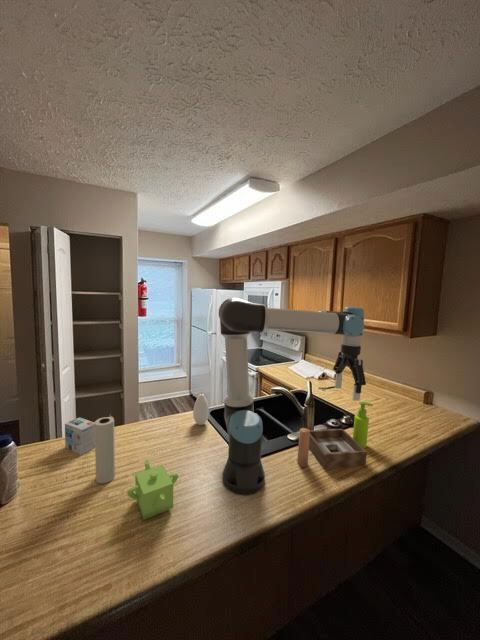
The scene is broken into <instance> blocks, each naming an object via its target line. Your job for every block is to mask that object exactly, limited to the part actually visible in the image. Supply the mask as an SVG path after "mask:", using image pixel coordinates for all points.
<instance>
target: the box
mask: <svg viewBox="0 0 480 640" xmlns="http://www.w3.org/2000/svg"><path fill="white" fill-rule="evenodd" d="M309 430H310V429H309ZM335 450H336V452H335ZM309 451H310V452H311V454H312V455H313V457H314V458H315V460H316V461H317V462H318V463H319V465H320V466H321V468H322V469H323V470H329V469H330V470H333V469H343V468H357V467H366V466H367V456H368V454H367V453H368V451H367V450H366V449H365V448H363V447H362V446H360V445H359V444H358V443H357V442H356V441H355V440H354V439H353V436H351V435H350V434H349V433H348V432H347V431H346V430H344V429H343V428H332V429H331V428H330V429H312V430H310V440H309ZM331 451H334V452H331Z"/></svg>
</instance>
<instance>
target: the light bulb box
mask: <svg viewBox="0 0 480 640" xmlns="http://www.w3.org/2000/svg"><path fill="white" fill-rule="evenodd" d="M64 443H65V446H64V448H65V449H67V450H70V451H71V452H74V453H75V454H78V455H80V456H82V455H84V454H86V453H88V452H90V451H92V450H93V449H95V421H94V422H93V421H90V420H88V419H85V418H82V417H80V416H79V417H77V418H75V419H72V420H70V421H68V422H66V423H65V422H64Z"/></svg>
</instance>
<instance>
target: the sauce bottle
mask: <svg viewBox="0 0 480 640" xmlns="http://www.w3.org/2000/svg"><path fill="white" fill-rule="evenodd" d="M200 391H201V392H200V394H199V395H198V397H197V398H196V400H195V402H194V406H193V409H192V410H193V411H192V414H193V415H192V416H193V421H194V422H195V423H196V424H197V425H199V426H202V425H205V424H206V423H207V422H208V420H209V417H210V406H209V402H208V399H207V398H206V397H205V394H204V393H203V390H202V389H201V390H200Z"/></svg>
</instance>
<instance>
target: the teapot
mask: <svg viewBox="0 0 480 640" xmlns="http://www.w3.org/2000/svg"><path fill="white" fill-rule="evenodd" d="M144 466H145V467H144V470H142V471H139V472H136V473H135V475H134V476H135V477H134V478H135V483H134V484H135V485H134V486H132V487H130V488H129V489H128V490H127V496H128V497H130V498H131V499H133V500H136V502H137V505H138V508H139V511H140V514H141V517H142V520H143V521H144V520H147V519H150V518H152V517H154V516H156V515H159V514H163V513H164V512H166V511H169V510H171V509H174V484H175V483H176V482H177V480H178V478H179V474H178V473H176V472H173V473H168V471H167V470H166V467H165V466H164V465H163V464H162V465H159V466H156V467H152V468H151V465H150V462H149V460H147V459H145V460H144Z"/></svg>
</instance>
